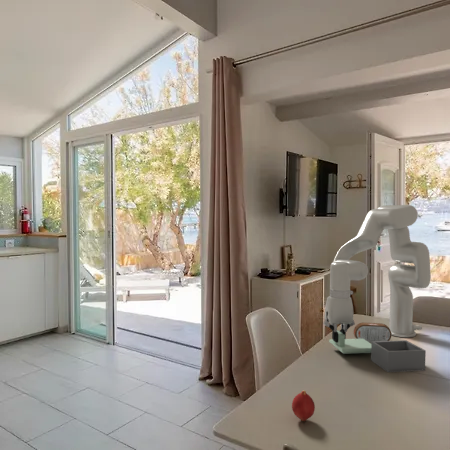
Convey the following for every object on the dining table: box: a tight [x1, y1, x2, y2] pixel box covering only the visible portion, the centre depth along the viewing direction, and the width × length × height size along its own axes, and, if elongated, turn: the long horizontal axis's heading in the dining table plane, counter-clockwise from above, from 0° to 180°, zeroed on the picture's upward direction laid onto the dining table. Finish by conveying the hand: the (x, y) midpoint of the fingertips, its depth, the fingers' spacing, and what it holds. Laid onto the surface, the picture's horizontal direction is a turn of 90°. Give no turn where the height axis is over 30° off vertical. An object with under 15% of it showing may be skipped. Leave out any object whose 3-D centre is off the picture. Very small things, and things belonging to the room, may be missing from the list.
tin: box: [353, 322, 392, 343], centre depth 164 cm, size 15×3×8 cm, turn 84°
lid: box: [328, 329, 371, 355], centre depth 152 cm, size 14×11×7 cm
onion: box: [291, 390, 316, 422], centre depth 101 cm, size 6×6×8 cm
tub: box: [370, 339, 427, 373], centre depth 140 cm, size 14×11×7 cm
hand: (338, 340), depth 151 cm, fingers closed on lid
